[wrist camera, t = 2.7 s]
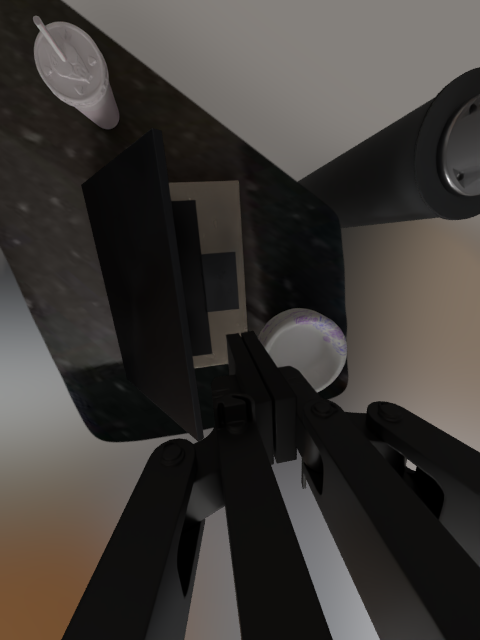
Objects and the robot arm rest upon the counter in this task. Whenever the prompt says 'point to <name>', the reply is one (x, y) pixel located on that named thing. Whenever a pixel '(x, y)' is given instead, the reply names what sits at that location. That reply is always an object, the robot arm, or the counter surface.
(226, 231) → the laptop
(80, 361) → the counter surface
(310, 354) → the paper bowls
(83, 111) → the smoothie
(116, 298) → the laptop screen
